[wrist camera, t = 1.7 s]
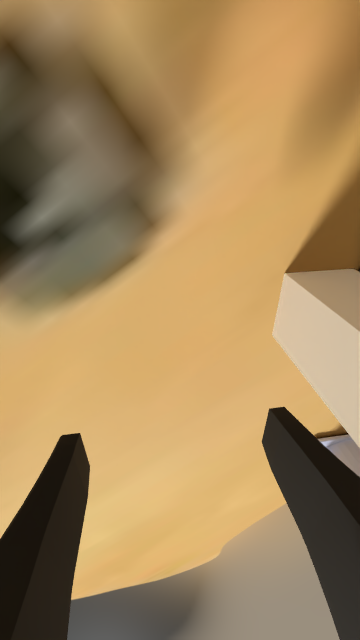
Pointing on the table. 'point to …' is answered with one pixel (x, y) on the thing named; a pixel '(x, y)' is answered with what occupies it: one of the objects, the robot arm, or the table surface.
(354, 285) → the tall block
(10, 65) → the table surface
